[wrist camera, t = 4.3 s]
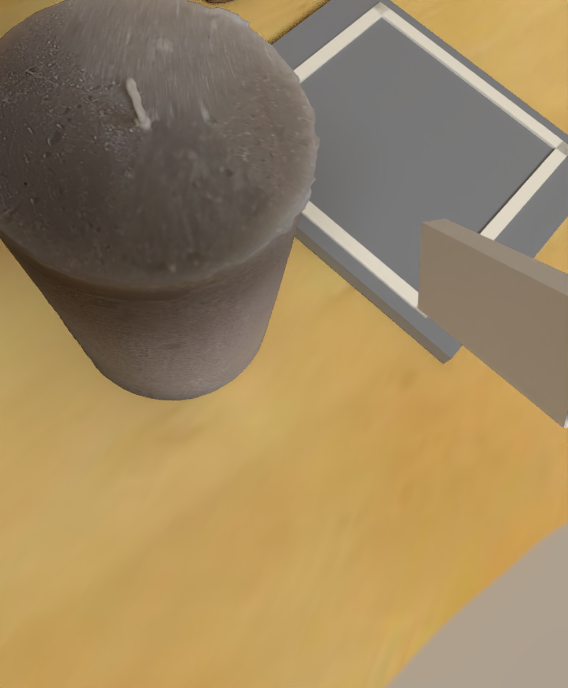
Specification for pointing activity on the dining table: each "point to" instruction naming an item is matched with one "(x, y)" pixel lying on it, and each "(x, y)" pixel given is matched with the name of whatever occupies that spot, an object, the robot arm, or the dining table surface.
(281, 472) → the dining table surface
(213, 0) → the block
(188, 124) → the pillar candle
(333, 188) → the slate tile
